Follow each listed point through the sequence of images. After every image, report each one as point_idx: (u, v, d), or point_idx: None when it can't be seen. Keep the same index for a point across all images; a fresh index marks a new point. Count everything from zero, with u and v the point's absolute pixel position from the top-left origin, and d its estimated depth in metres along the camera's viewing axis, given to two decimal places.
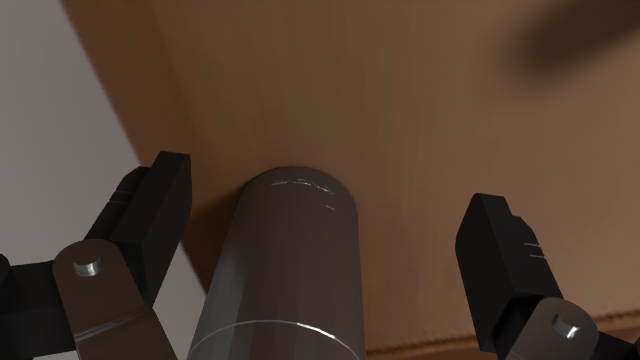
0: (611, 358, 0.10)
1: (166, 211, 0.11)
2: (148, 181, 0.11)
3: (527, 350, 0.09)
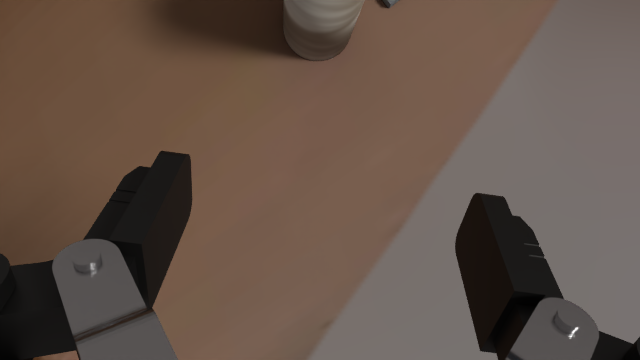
0: (611, 358, 0.10)
1: (166, 211, 0.11)
2: (148, 181, 0.11)
3: (527, 350, 0.09)
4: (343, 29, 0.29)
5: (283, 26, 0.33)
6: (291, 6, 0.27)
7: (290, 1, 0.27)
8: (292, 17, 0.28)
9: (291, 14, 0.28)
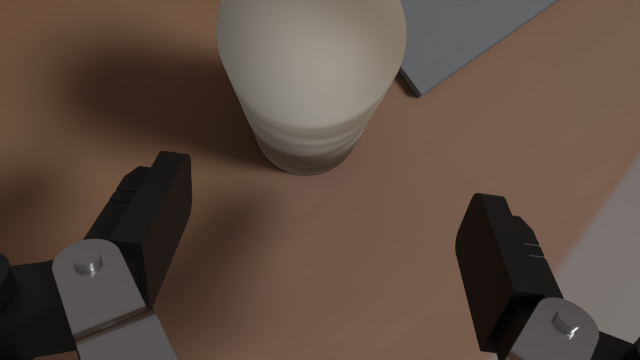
0: (611, 358, 0.10)
1: (166, 211, 0.11)
2: (148, 181, 0.11)
3: (527, 350, 0.09)
4: (338, 150, 0.17)
5: None
6: (246, 115, 0.15)
7: (243, 109, 0.15)
8: (252, 127, 0.17)
9: (250, 123, 0.16)
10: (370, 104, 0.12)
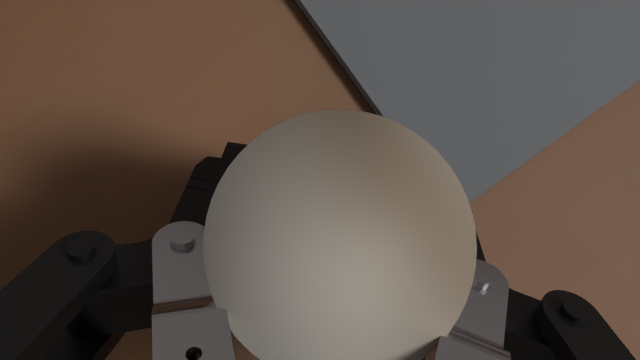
0: (521, 314, 0.10)
1: None
2: (222, 170, 0.12)
3: None
4: None
5: None
6: None
7: None
8: None
9: None
10: (425, 353, 0.08)
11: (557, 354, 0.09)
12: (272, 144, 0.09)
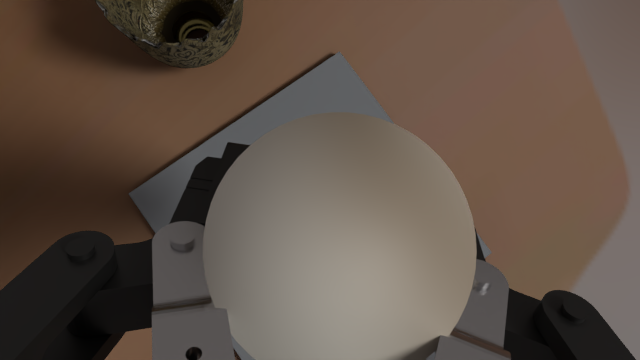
0: (521, 314, 0.10)
1: None
2: (221, 170, 0.12)
3: None
4: None
5: None
6: None
7: None
8: None
9: None
10: (425, 356, 0.08)
11: (557, 354, 0.09)
12: (272, 147, 0.09)
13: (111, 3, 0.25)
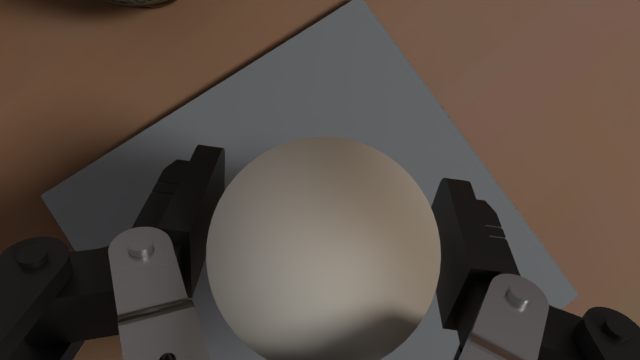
0: (561, 331, 0.10)
1: (206, 202, 0.12)
2: (189, 173, 0.12)
3: (487, 329, 0.09)
4: None
5: None
6: None
7: None
8: None
9: None
10: (395, 346, 0.10)
11: None
12: (265, 167, 0.10)
13: None
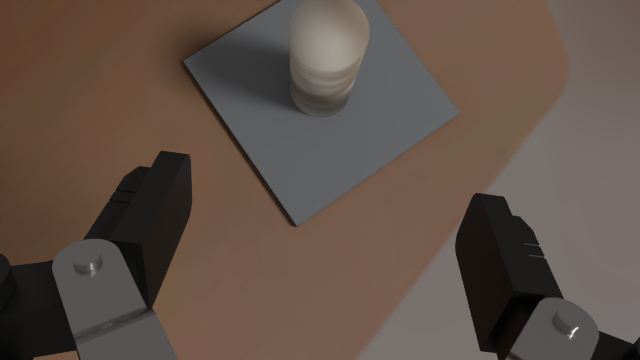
0: (611, 358, 0.10)
1: (166, 211, 0.11)
2: (148, 181, 0.11)
3: (527, 350, 0.09)
4: (339, 94, 0.33)
5: (290, 86, 0.37)
6: (294, 73, 0.32)
7: (293, 69, 0.31)
8: (295, 81, 0.33)
9: (295, 79, 0.33)
10: (354, 61, 0.28)
11: None
12: (308, 2, 0.29)
13: None
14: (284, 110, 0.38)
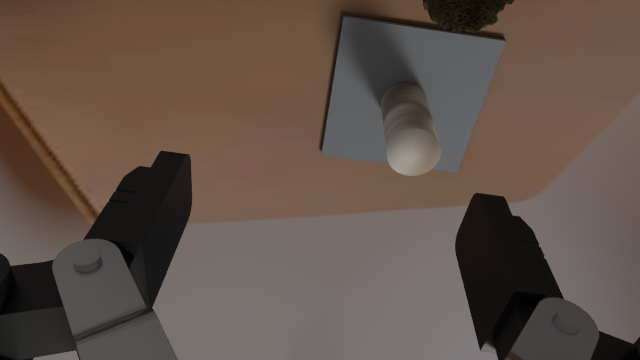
0: (611, 358, 0.10)
1: (166, 211, 0.11)
2: (148, 181, 0.11)
3: (527, 350, 0.09)
4: None
5: (387, 92, 0.49)
6: (385, 128, 0.45)
7: (386, 129, 0.45)
8: (384, 122, 0.47)
9: (384, 122, 0.46)
10: (408, 175, 0.44)
11: None
12: (419, 133, 0.41)
13: None
14: (372, 97, 0.51)
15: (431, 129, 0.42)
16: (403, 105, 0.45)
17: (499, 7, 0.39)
